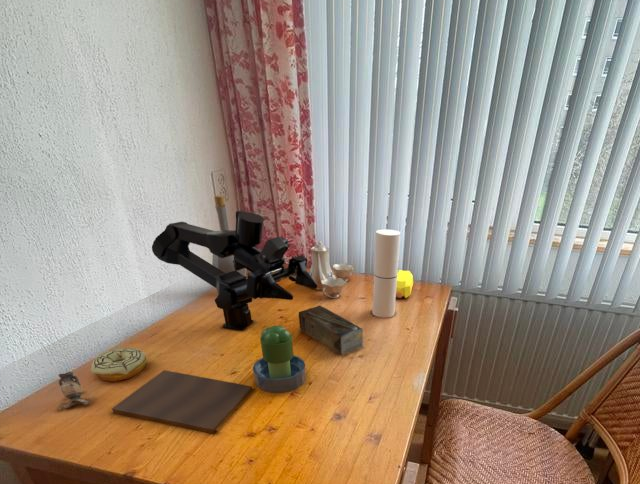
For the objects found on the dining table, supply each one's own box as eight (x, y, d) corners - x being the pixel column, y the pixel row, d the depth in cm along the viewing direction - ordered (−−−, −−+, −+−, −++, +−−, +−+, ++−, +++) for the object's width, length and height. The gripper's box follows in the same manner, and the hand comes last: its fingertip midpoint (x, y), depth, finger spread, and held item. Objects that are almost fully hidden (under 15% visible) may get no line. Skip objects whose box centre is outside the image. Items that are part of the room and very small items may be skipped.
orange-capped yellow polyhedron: (387, 299, 134) (409, 302, 133) (388, 280, 130) (411, 283, 130) (393, 282, 149) (413, 284, 148) (395, 265, 145) (415, 267, 144)
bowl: (245, 389, 85) (243, 374, 83) (269, 364, 94) (267, 350, 92) (294, 398, 83) (292, 383, 81) (313, 372, 93) (312, 357, 90)
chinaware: (346, 307, 130) (352, 258, 121) (297, 299, 129) (299, 249, 120) (353, 279, 153) (358, 237, 144) (312, 272, 152) (314, 229, 143)
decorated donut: (85, 383, 84) (78, 368, 82) (110, 358, 92) (104, 344, 90) (135, 383, 85) (129, 369, 82) (155, 358, 93) (151, 345, 91)
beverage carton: (340, 357, 99) (340, 334, 95) (298, 331, 110) (296, 309, 106) (363, 348, 104) (364, 325, 100) (320, 324, 115) (319, 303, 111)
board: (113, 413, 76) (111, 408, 75) (165, 374, 88) (163, 369, 88) (214, 434, 73) (212, 429, 72) (253, 390, 85) (252, 386, 84)
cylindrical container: (368, 314, 122) (371, 232, 108) (377, 306, 128) (381, 228, 114) (389, 319, 120) (395, 236, 106) (397, 311, 126) (404, 231, 112)
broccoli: (260, 383, 86) (252, 330, 79) (273, 369, 92) (267, 318, 84) (288, 388, 85) (282, 335, 78) (299, 373, 91) (295, 322, 83)
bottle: (238, 284, 138) (223, 192, 121) (259, 292, 133) (246, 197, 116) (210, 292, 130) (190, 195, 113) (231, 301, 125) (213, 200, 108)
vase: (64, 395, 80) (51, 370, 76) (95, 390, 82) (84, 366, 78) (57, 410, 76) (44, 385, 72) (90, 405, 78) (79, 380, 74)
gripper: (228, 238, 84) (283, 272, 81) (286, 224, 98) (334, 253, 95) (226, 282, 91) (277, 315, 88) (280, 264, 105) (325, 292, 102)
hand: (305, 292), depth 93 cm, fingers open, 9 cm apart
